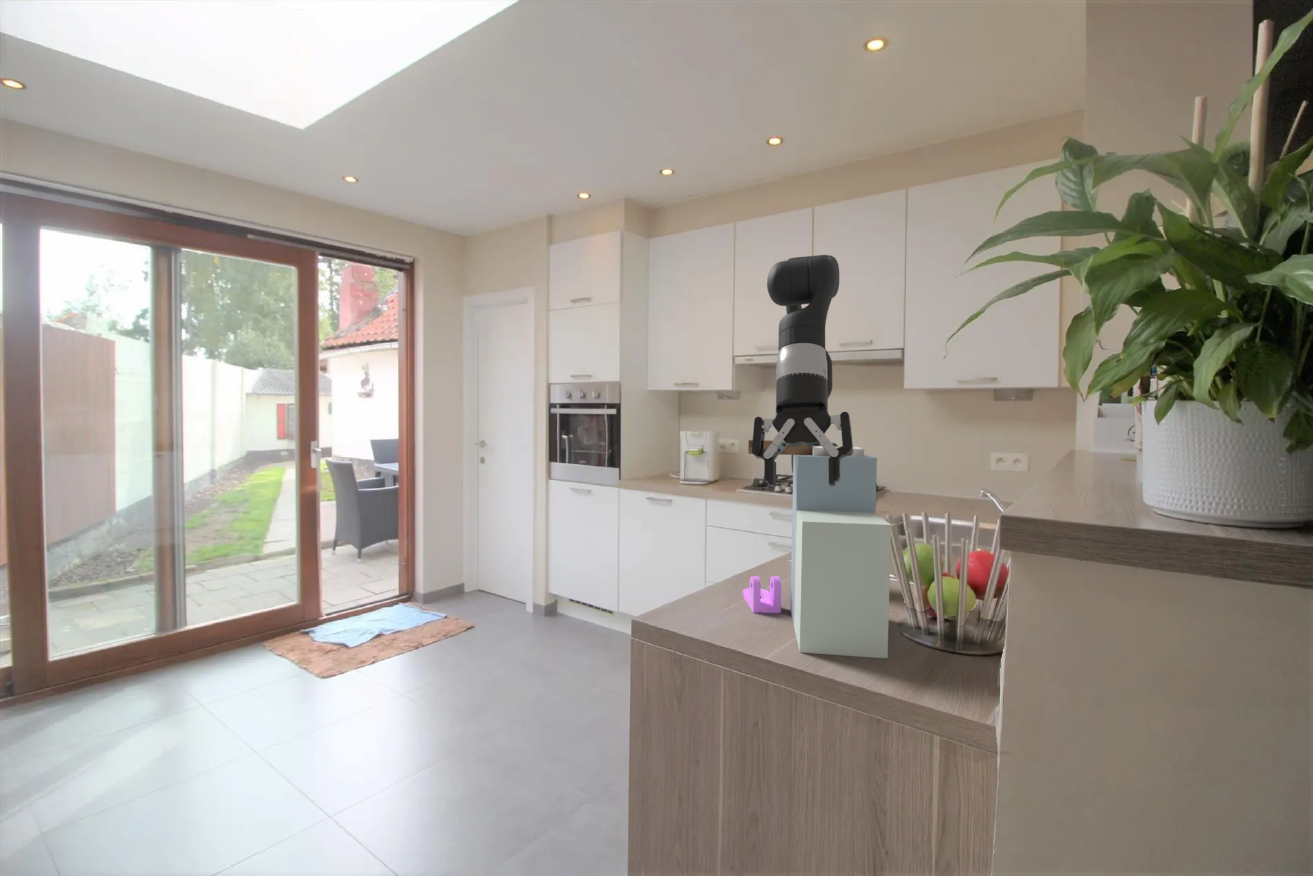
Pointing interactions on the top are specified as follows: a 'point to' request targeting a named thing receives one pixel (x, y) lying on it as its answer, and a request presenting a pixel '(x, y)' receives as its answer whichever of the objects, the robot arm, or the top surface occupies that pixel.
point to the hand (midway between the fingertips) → (801, 485)
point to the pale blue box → (839, 559)
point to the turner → (806, 450)
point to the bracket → (764, 596)
